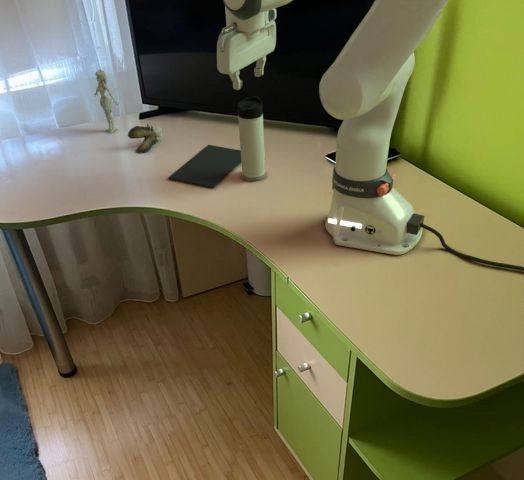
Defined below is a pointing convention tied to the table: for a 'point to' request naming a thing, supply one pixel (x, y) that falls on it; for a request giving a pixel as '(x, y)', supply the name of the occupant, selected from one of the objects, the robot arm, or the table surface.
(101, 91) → the human figurine
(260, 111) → the travel mug
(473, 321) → the table surface
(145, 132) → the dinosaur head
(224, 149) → the desk pad
